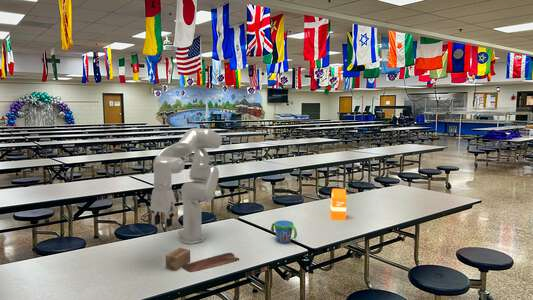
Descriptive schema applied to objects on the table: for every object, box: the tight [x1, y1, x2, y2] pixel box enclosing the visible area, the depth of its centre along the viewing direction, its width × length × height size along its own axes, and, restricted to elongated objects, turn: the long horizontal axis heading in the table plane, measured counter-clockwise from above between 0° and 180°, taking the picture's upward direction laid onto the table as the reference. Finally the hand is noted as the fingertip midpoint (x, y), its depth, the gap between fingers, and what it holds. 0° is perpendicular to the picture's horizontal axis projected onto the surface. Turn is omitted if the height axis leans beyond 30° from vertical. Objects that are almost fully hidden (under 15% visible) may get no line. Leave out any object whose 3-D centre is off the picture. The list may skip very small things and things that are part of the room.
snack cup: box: [270, 219, 298, 244], centre depth 194 cm, size 16×10×10 cm
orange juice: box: [329, 188, 347, 221], centre depth 236 cm, size 8×9×20 cm
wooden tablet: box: [181, 252, 240, 273], centre depth 167 cm, size 26×2×10 cm
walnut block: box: [165, 247, 191, 271], centre depth 163 cm, size 6×10×6 cm, turn 156°
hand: (163, 224), depth 165 cm, fingers open, 5 cm apart
